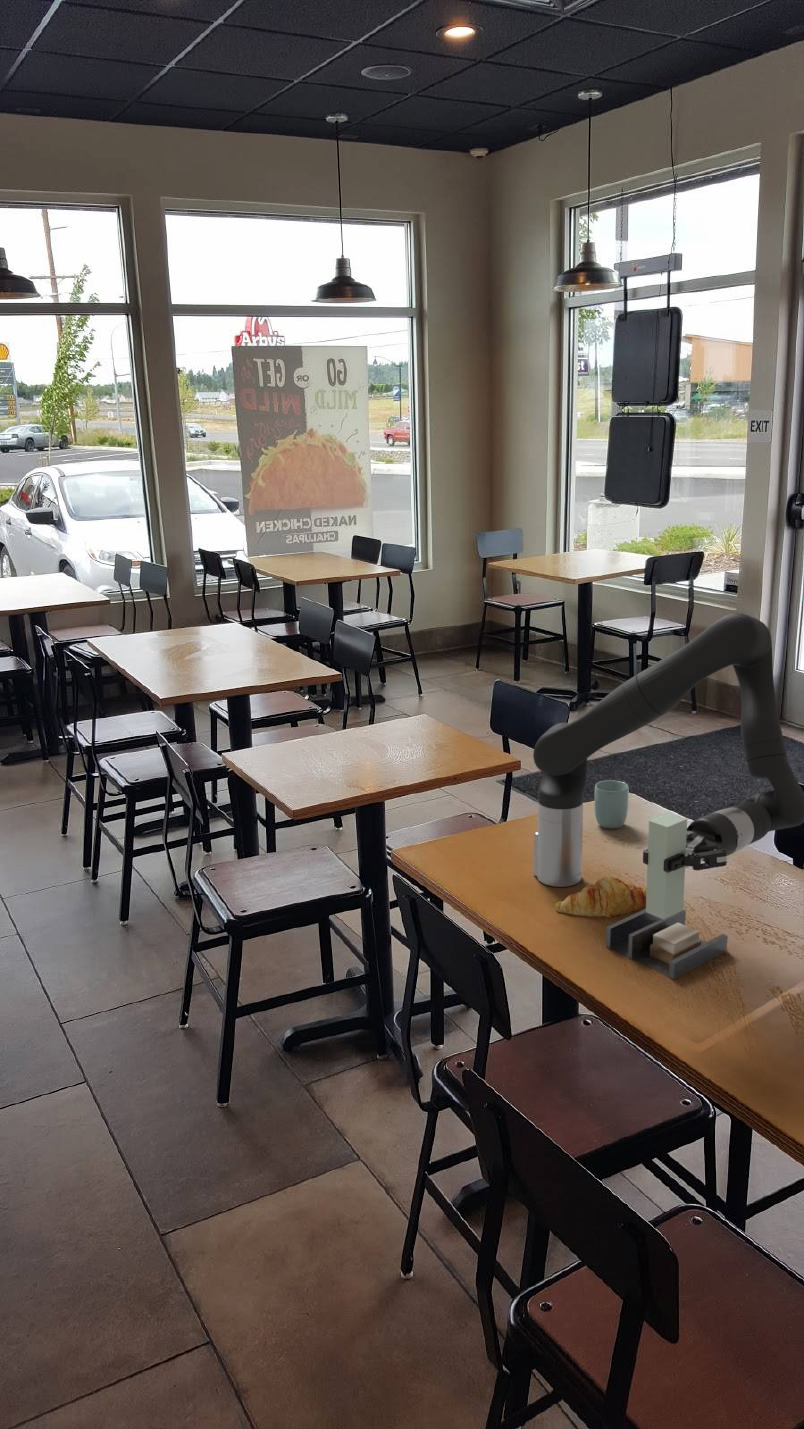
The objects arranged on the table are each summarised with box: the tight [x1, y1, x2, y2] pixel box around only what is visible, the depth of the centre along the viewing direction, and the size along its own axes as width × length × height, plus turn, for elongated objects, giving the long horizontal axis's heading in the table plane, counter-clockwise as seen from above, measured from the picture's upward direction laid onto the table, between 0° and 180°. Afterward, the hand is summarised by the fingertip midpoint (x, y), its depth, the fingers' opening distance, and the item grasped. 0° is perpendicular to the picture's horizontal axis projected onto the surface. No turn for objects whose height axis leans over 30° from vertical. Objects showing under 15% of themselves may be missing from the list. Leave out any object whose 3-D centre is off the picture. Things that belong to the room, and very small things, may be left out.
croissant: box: [554, 876, 647, 918], centre depth 212 cm, size 21×10×8 cm, turn 101°
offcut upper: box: [653, 923, 700, 954], centre depth 193 cm, size 5×7×2 cm, turn 128°
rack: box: [605, 908, 728, 980], centre depth 195 cm, size 15×15×6 cm
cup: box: [594, 779, 630, 830], centre depth 253 cm, size 8×8×10 cm
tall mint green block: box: [645, 812, 688, 920], centre depth 174 cm, size 4×5×16 cm
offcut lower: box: [650, 939, 701, 964], centre depth 193 cm, size 5×8×2 cm, turn 128°
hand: (655, 862), depth 172 cm, fingers closed on tall mint green block, 3 cm apart
